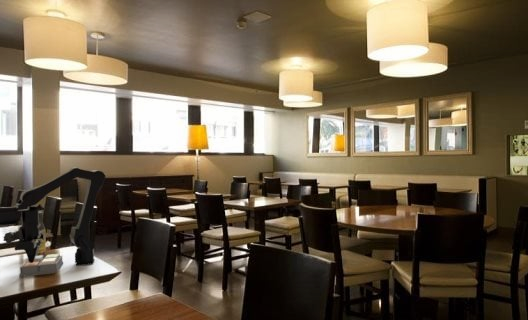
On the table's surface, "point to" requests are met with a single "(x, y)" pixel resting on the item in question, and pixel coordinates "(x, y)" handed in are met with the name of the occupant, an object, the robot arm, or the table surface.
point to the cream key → (49, 261)
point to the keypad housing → (41, 268)
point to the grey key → (38, 258)
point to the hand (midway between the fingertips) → (31, 262)
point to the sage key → (53, 256)
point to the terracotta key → (31, 264)
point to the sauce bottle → (43, 245)
